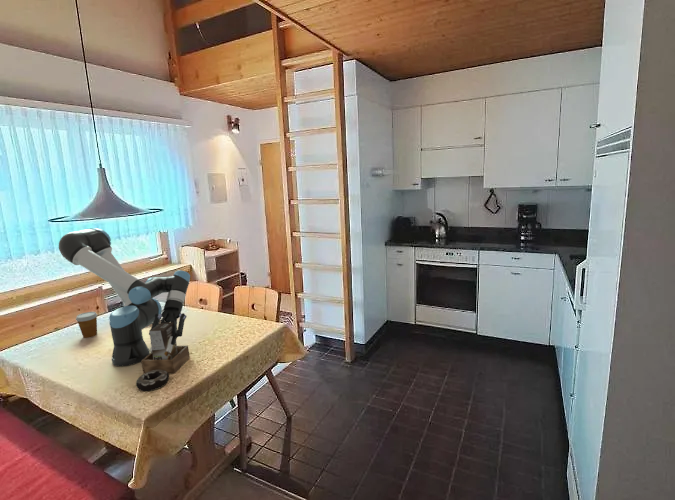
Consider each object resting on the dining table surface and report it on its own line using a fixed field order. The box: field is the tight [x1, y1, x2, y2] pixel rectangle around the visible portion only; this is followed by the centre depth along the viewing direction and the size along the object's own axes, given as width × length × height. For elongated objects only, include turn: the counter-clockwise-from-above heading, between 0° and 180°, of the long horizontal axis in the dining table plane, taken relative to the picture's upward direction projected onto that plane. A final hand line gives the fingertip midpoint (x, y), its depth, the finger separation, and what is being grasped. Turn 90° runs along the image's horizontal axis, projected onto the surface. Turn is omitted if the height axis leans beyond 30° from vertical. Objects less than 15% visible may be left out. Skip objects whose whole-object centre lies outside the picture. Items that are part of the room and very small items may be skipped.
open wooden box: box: [141, 345, 191, 375], centre depth 159 cm, size 14×14×6 cm
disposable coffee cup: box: [75, 311, 98, 339], centre depth 195 cm, size 10×10×12 cm
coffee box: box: [148, 322, 178, 360], centre depth 157 cm, size 9×6×16 cm
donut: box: [135, 370, 170, 392], centre depth 144 cm, size 12×12×4 cm
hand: (160, 352), depth 154 cm, fingers closed on coffee box, 6 cm apart
